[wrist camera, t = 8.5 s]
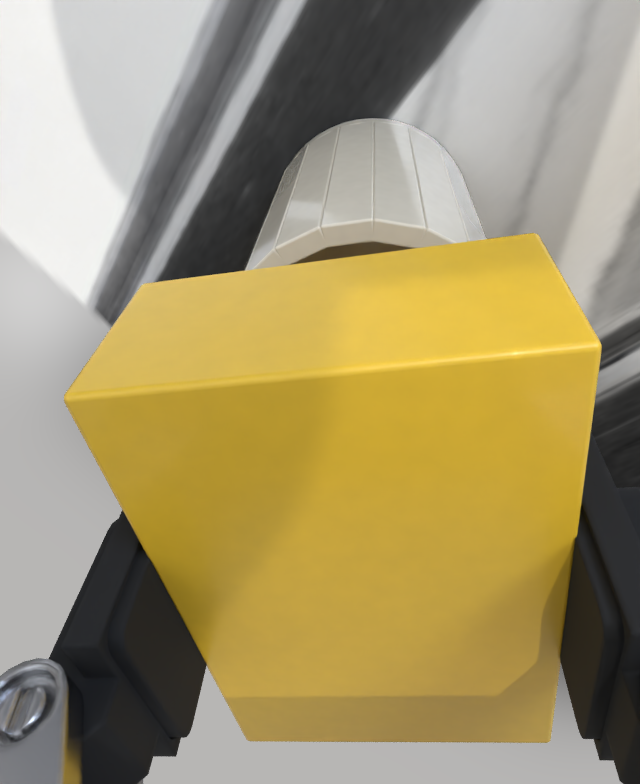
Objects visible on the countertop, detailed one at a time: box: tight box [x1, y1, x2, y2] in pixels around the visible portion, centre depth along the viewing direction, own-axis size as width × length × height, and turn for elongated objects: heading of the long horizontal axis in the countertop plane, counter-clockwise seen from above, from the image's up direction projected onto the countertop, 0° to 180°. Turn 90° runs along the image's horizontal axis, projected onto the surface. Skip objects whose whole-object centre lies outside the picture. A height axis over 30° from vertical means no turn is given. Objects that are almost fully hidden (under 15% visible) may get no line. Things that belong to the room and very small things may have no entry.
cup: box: [243, 118, 486, 271], centre depth 18 cm, size 7×7×9 cm
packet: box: [64, 233, 602, 743], centre depth 10 cm, size 9×6×3 cm, turn 10°
